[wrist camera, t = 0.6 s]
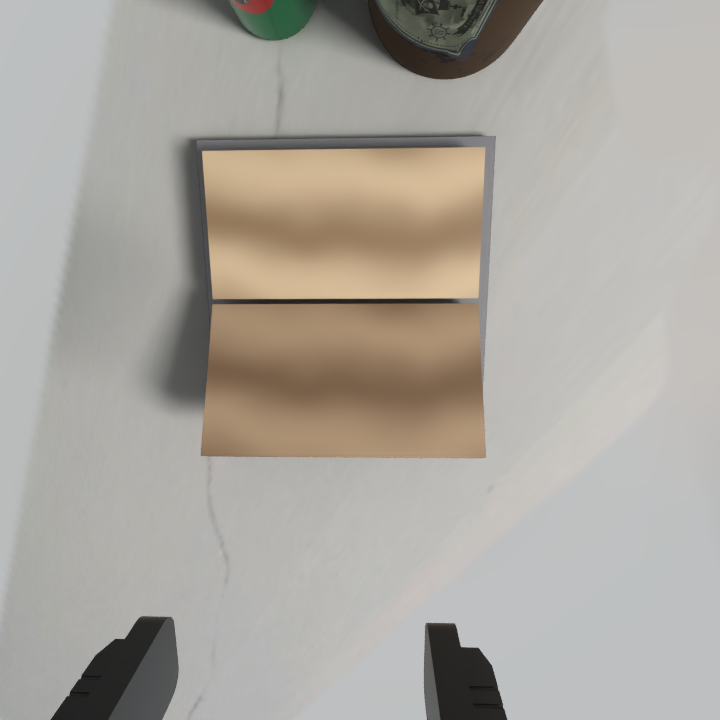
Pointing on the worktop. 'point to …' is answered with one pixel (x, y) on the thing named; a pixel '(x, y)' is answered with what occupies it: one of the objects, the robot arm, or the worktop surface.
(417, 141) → the gray flat board
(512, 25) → the brown bottle
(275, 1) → the soda can
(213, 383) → the brown wooden board
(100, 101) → the worktop surface
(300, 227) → the oak plank
